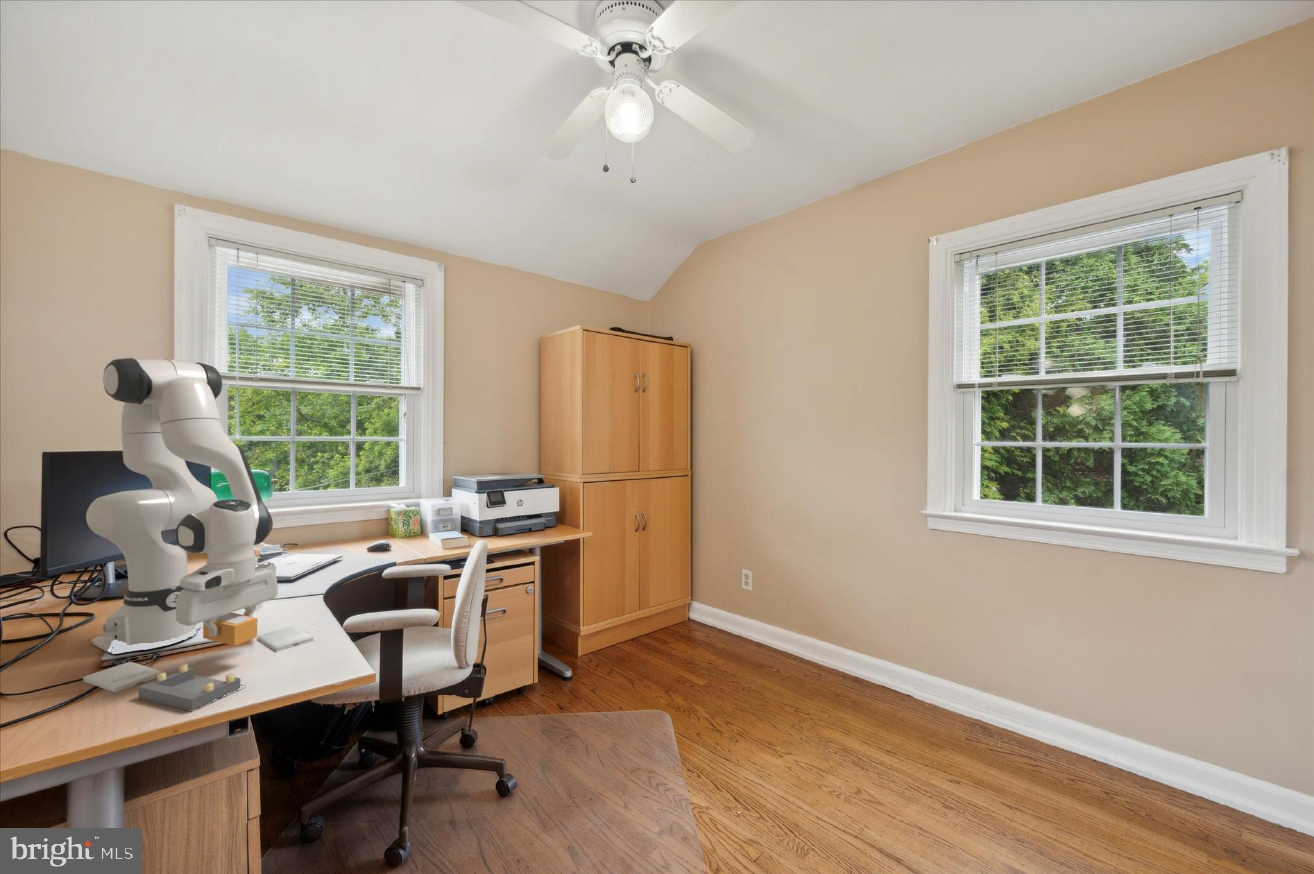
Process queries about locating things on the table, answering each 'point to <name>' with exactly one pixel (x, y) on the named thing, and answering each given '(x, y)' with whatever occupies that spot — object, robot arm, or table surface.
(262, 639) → the hard drive
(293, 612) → the table surface
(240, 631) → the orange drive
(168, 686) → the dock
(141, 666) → the external hard drive
